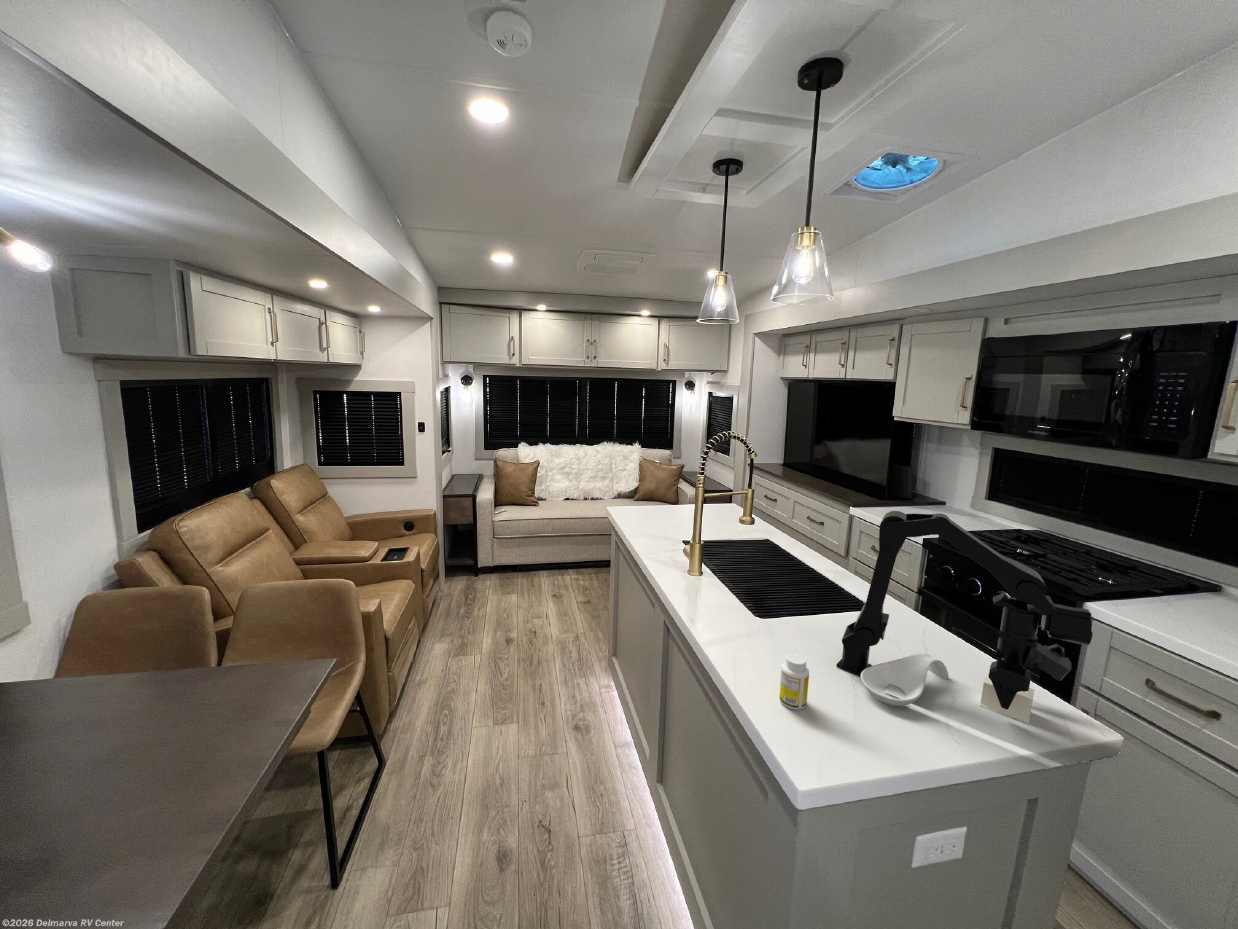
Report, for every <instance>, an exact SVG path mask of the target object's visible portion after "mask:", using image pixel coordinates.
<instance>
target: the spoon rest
mask: <svg viewBox="0 0 1238 929" xmlns="http://www.w3.org/2000/svg"><path fill="white" fill-rule="evenodd" d="M928 671H929V672H930V673H932V674H934V675H936V676H937V677H940V678H941V679H945V680H949V678H950V677H949V672H948V668H947V667H946V665H945V663H944V662H943V661H941V660H940V659H937V658H934V657H933V656H931V655H930V654H929V653H925V652H924V653H923V652H919V653H915V654H912V655H909V656H905V657H902V658H898V659H895V660H890V661H886V662H882V663H877V664H875V665H872V666H870V667H868V668H866V669H864V670H863V671H862V673H861V676H860V681H861V683H862V685H863V686H864V688H865V689H866V690H867V692H869V694H870V695H871V696H873V697H874V698H875V699H877V700H878V701H881V702H882V703H885V704H887V705H891V706H897V707H900V706H901V707H904V706H909V705H912V704H913V703H915V702H917V700H918V699H919V698H920V697H921V696H922V694H923V692H924V690H925V686H926V682H927V681H926V680H927V674H928ZM889 685H893V686H896V687H897V688H900V689H901V690H902V691H903V693H904V694H905V698H900V697H897V696H895V695H893V694H890V693H888V692H885V691H886V689H887V688H888V687H889Z"/></svg>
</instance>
